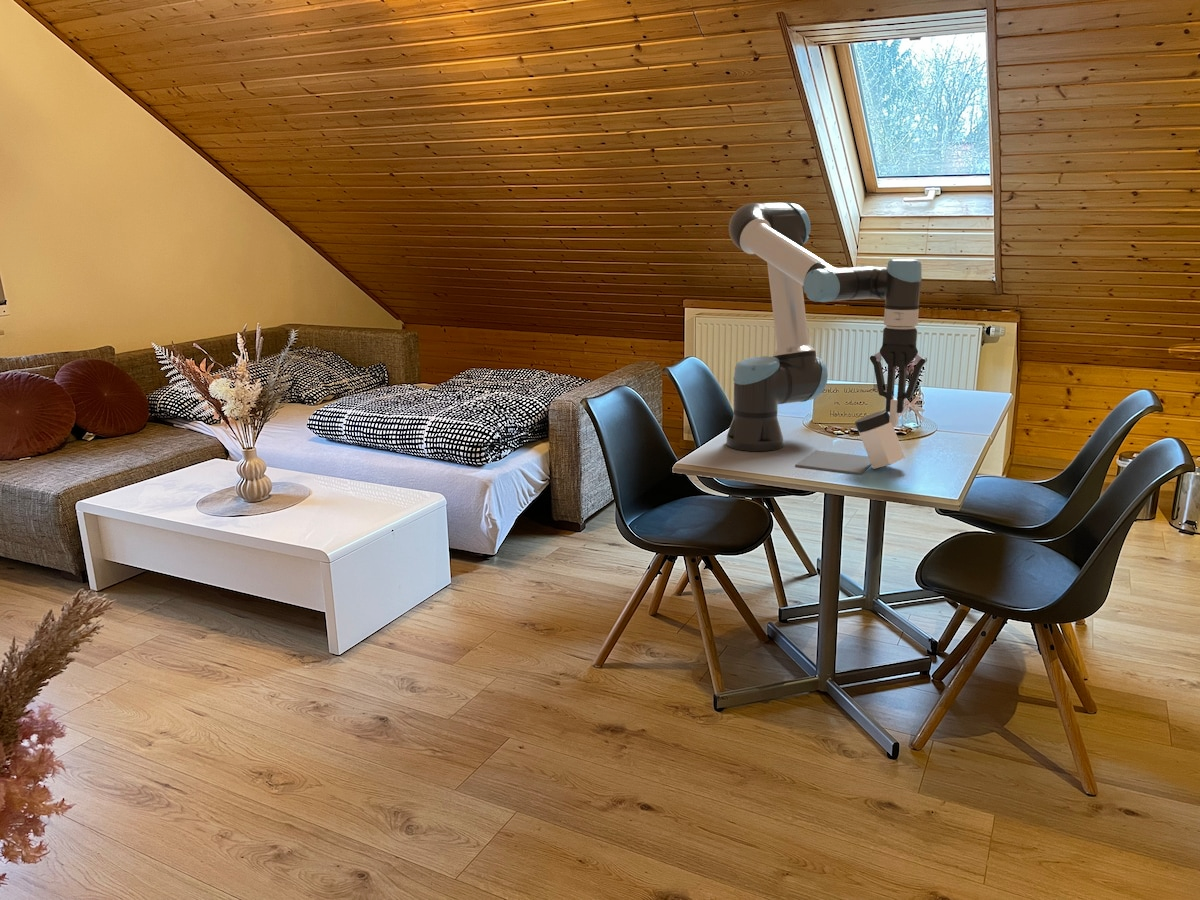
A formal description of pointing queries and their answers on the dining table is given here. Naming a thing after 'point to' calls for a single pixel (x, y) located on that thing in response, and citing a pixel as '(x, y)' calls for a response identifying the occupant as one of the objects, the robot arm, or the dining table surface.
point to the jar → (879, 439)
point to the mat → (835, 462)
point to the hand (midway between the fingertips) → (893, 425)
